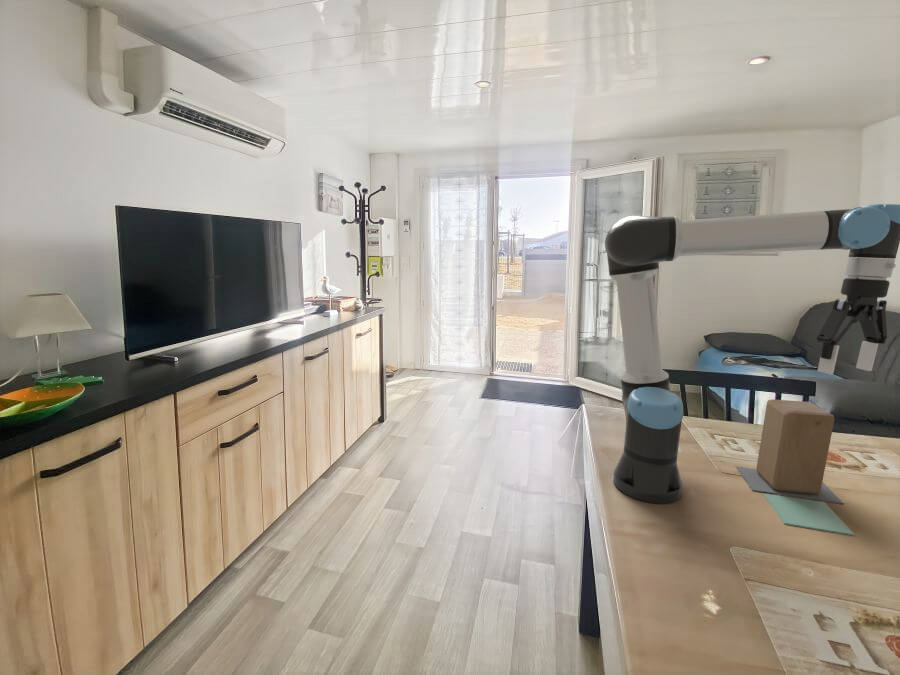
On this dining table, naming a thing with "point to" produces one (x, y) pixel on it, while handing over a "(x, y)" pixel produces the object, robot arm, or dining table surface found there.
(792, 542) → the dining table surface
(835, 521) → the pad
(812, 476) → the wooden block
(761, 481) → the mat
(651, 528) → the dining table surface
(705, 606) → the dining table surface
